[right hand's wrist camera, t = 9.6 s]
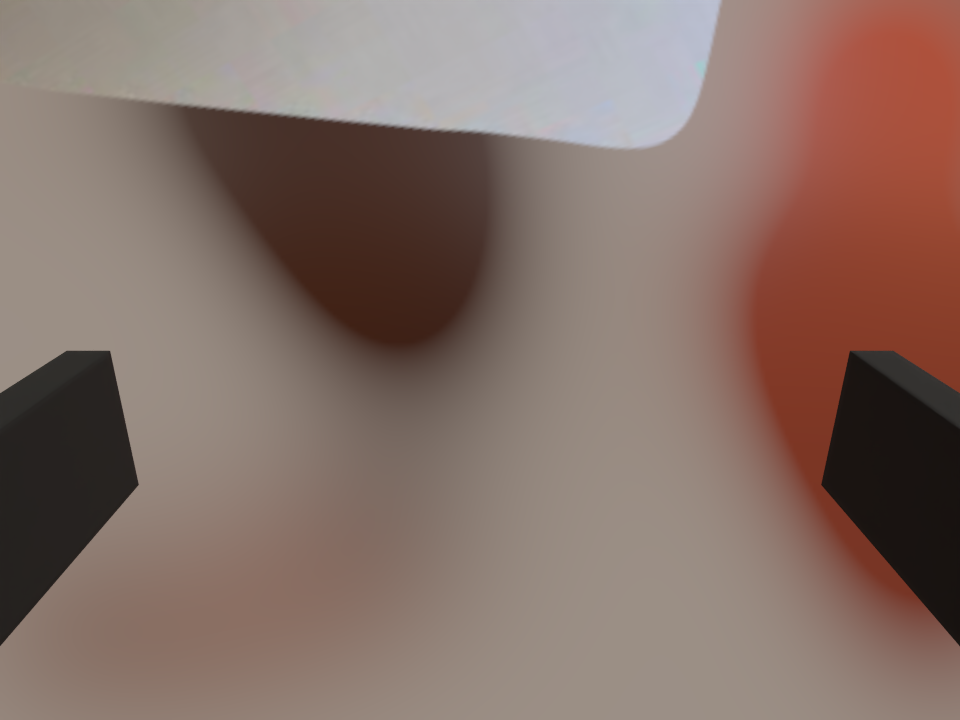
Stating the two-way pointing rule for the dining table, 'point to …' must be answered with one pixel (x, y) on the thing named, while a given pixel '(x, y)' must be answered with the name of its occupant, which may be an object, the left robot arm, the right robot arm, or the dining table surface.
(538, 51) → the dining table surface
